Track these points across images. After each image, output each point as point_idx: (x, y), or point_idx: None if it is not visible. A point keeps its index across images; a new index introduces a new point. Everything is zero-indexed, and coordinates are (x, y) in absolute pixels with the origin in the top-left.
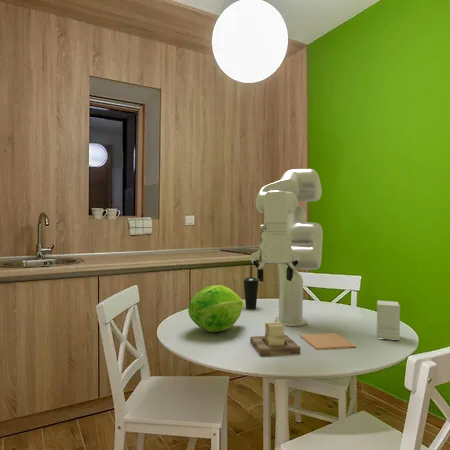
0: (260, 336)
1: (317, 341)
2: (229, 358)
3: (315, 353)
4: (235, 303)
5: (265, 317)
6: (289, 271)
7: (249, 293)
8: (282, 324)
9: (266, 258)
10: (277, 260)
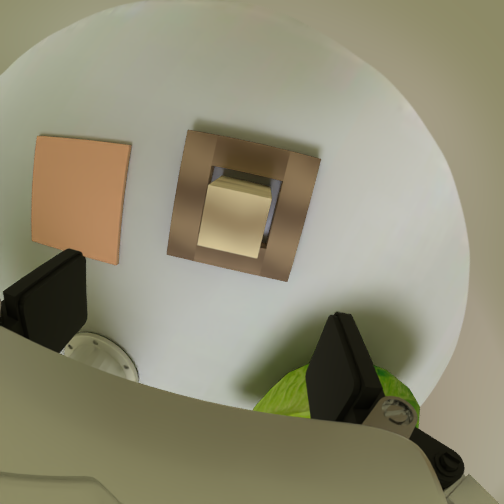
0: (255, 271)
1: (98, 195)
2: (402, 182)
3: (150, 120)
4: (303, 409)
5: None
6: (37, 294)
7: None
8: (206, 203)
9: (402, 495)
10: (134, 424)
